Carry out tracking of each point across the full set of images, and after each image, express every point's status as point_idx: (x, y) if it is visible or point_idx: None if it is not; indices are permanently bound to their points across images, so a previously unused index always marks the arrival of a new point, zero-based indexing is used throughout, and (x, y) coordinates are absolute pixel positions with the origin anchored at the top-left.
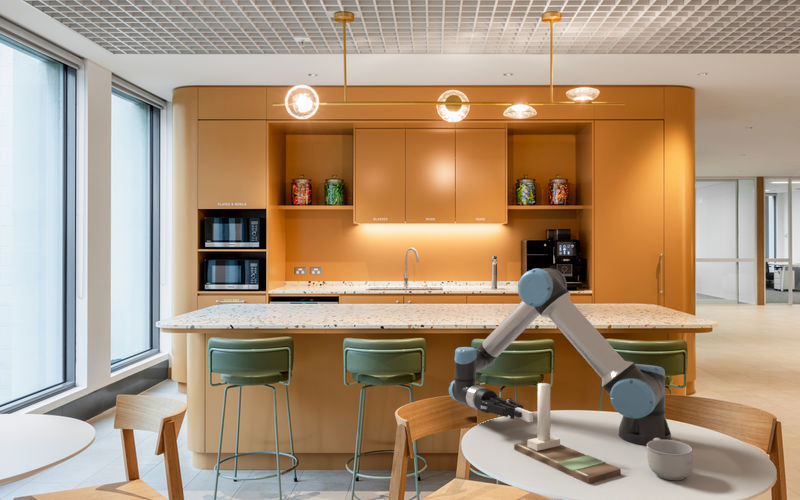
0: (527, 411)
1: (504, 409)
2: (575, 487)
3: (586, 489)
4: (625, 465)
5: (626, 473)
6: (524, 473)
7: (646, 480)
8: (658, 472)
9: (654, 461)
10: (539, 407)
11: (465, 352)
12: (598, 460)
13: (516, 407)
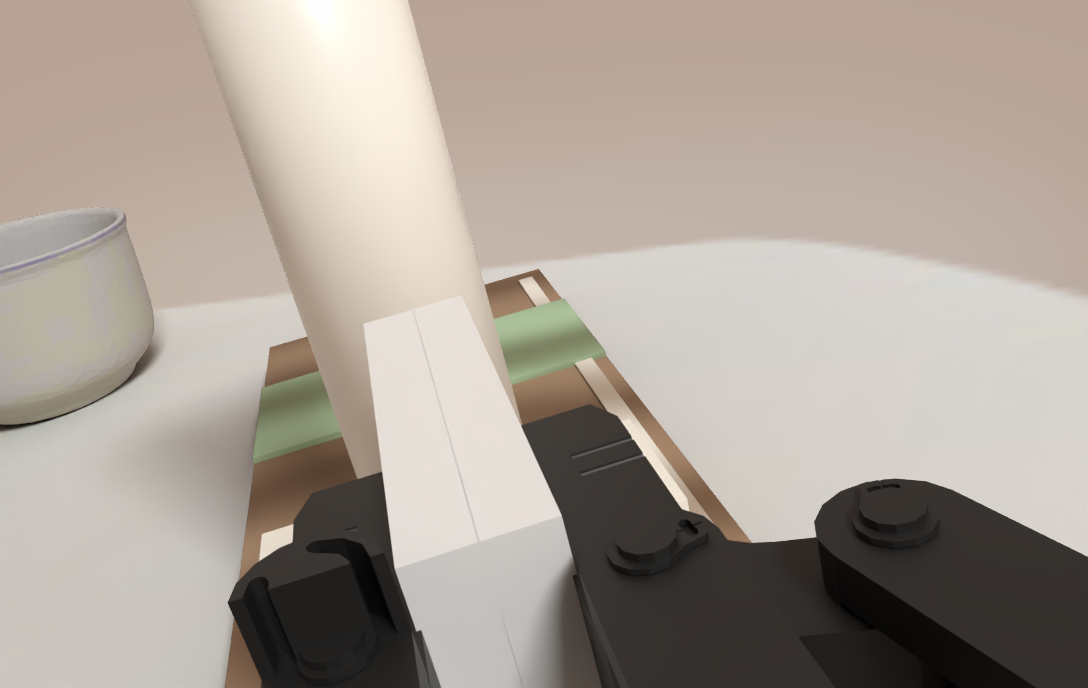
0: (418, 352)
1: (973, 522)
2: (641, 274)
3: (597, 270)
4: (111, 464)
5: (232, 393)
6: (901, 335)
7: (228, 353)
8: (153, 328)
9: (136, 281)
10: (419, 51)
11: None
12: (278, 399)
13: (418, 656)
